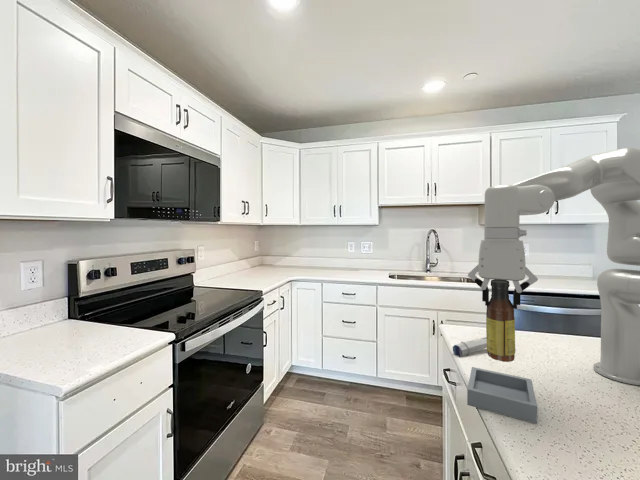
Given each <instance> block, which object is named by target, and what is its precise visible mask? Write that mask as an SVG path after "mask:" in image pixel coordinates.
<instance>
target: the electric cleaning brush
mask: <svg viewBox="0 0 640 480" xmlns="http://www.w3.org/2000/svg"><path fill="white" fill-rule="evenodd" d="M484 349H487V336H484V337H480V338H476V339H473V340H467V341H461V342H459V343H457V344H454V345H453V346H452V351H453V353H454V355H456V356H457V357H463V356H469V355H470V354H472V353H475V352H478V351H480V350H484Z"/></svg>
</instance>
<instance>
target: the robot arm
mask: <svg viewBox="0 0 640 480" xmlns="http://www.w3.org/2000/svg"><path fill="white" fill-rule="evenodd" d="M588 190H590V193H591V196H592V197H593V198H594V199H595V201H597V202H598V203H599V204H600V205H601V206H602V207H603V209H604V210H605V212H606V215H607V217H608V227H607V228H608V230H607V243H606V255H607V258H608V259H609V260H610V262H613V263H616V264H620V265H627V266H637V267H638V266H639V267H640V202H639V201H640V149H639V148H636V147H628V146H627V147H622V148H618V149H614V150H613V149H612V150H609V151H603V152H599V153H596V154H592V155H588V156H585V157H582V158H580V159H577V160H575V161H573V162H571V163H569V164H566V165H564V166H562V167H559V168H556V169H554V170H550V171H547V172H545V173H541V174H539V175H537V176H534V177H532V178H528V179H525V180H523V181H520V182H516V183H514V184H503V185H501V184H499V185H494V186H493V185H492V186H490V187H488V188H486V189H485V191H484V221H483V222H484V225H483V226H484V228H483V229H484V230H483V231H484V233H483V234H484V237H483V239H484V240H483V239H482V240H480V244H479V245H480V246H479V251H478V252H479V253H478V261H477V262H478V264H477V265H476V266H474V268H473V269H471V270H470V271H469V272H468V274H467V276H468V278H470V279H471V281H473V282H474V283H475V284H477V286H478V287H479V288H480V289H481V290H482V291H481V293H482V296H481V297H482V298H481V299H482V302H484V305H485V306H486V307H487V306H488V303H489V301H490V295H489V294H490V289H489V287H488V285H489V283H490V282H491V280H507V281H509V282H510V281H512V283H513V285H514V289H513V291H512V293H513V295H512V305H513V308H514V310H518V306H521V294H522V292H523V291H524V290H527V288H529V287H530V286H531V285H533V284H535V283H536V282H538V280H539V279H538V277H537V276H536V275H535V274H534V273H533V272H532V271H531V270H530V269H529V268H528V267H527V266H526V255H525V254H526V253H525V246H524V245H525V244H524V241H523V240H520V237H523V236H525V237H526V236H527V230H526V229H522V228H520V216H537V215H541V214H544V213H546V212H547V211H549V210H550V209H552V208H553V206H554V204H555V202H557V201H562V200H567V199H570V198H573V197H576V196H578V195H580V194H582V193H584V192H586V191H588ZM477 273H478V276H479V277H480V278H481V279H483V280H481V279H480V278H479V277H477V275H476V274H477ZM526 276H527V277H528V279H526V280H525V278H526ZM523 280H524V281H523ZM520 281H523V282H522V283H520ZM596 285H597V286H596V287H597V289H598V290H597V292H598V294H599V299H600V313H601V315H600V317H601V319H600V320H601V321H600V361H599V362H598V361H597V362H595V363H593V370H594V371H595V372H596V373H597V374H599V375H601V376H604V377H605V378H608V379H611V380H613V381H616V382H620V383H624V384H628V385H634V386H640V270H637V269H626V268H611V269H606V270H604V271H602V272H601V273H600V274H599V275H598V277H597V280H596Z"/></svg>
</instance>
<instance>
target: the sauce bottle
mask: <svg viewBox="0 0 640 480" xmlns="http://www.w3.org/2000/svg"><path fill="white" fill-rule="evenodd" d="M490 286H491V295H490V297H491V298H489V303H488V306H486V314H485V315H486V318H485V319H486V322H485V323H486V324H485V325H486V332H485V333H486V335H485V336H486V337H487V348H486V353H487V356H488V357H489V358H490V359H493V360H495V361H499V362H503V363H510V362H514V361H515V354H516V320H515V319H516V318H515V308H513V302H512V301H511V300H510V296H509V295H510V294H509V288H510V281H509V280H494V279H490Z"/></svg>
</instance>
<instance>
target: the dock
mask: <svg viewBox="0 0 640 480" xmlns="http://www.w3.org/2000/svg"><path fill="white" fill-rule="evenodd" d="M470 369H471V370H470V375H469V379H468V383H467V384H468V385H467V390H466V391H467V396H466V402H467V406H469V407H473V408H477V409H480V410H484V411H487V412H488V411H489V412H492V413H496V414H499V415H503V416H507V417H510V418H513V419H518V420H522V421H525V422H529V423H532V424H536V425H537V424H538V402H537V397H536V393H535V390H534V386H533V380H532V379H531V378H528V377H524V376H517V375H514V374H513V375H512V374H507V373H504V372H499V371H492V370H490V369H489V370H488V369H484V368H480V367H474V366H472V367H471V368H470Z"/></svg>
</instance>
